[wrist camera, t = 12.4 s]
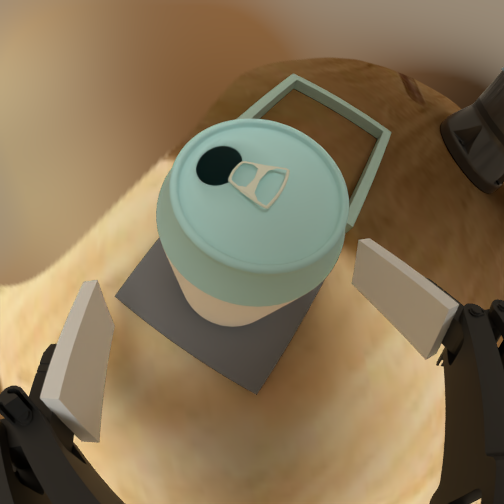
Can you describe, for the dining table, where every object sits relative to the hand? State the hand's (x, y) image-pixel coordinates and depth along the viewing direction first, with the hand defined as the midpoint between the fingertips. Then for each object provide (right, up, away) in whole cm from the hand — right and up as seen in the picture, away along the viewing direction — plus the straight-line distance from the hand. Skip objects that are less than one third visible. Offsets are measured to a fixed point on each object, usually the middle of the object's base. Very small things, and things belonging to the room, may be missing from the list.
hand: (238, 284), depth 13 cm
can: (-1, 0, +7) cm, 7 cm away
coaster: (-1, -1, +7) cm, 7 cm away
